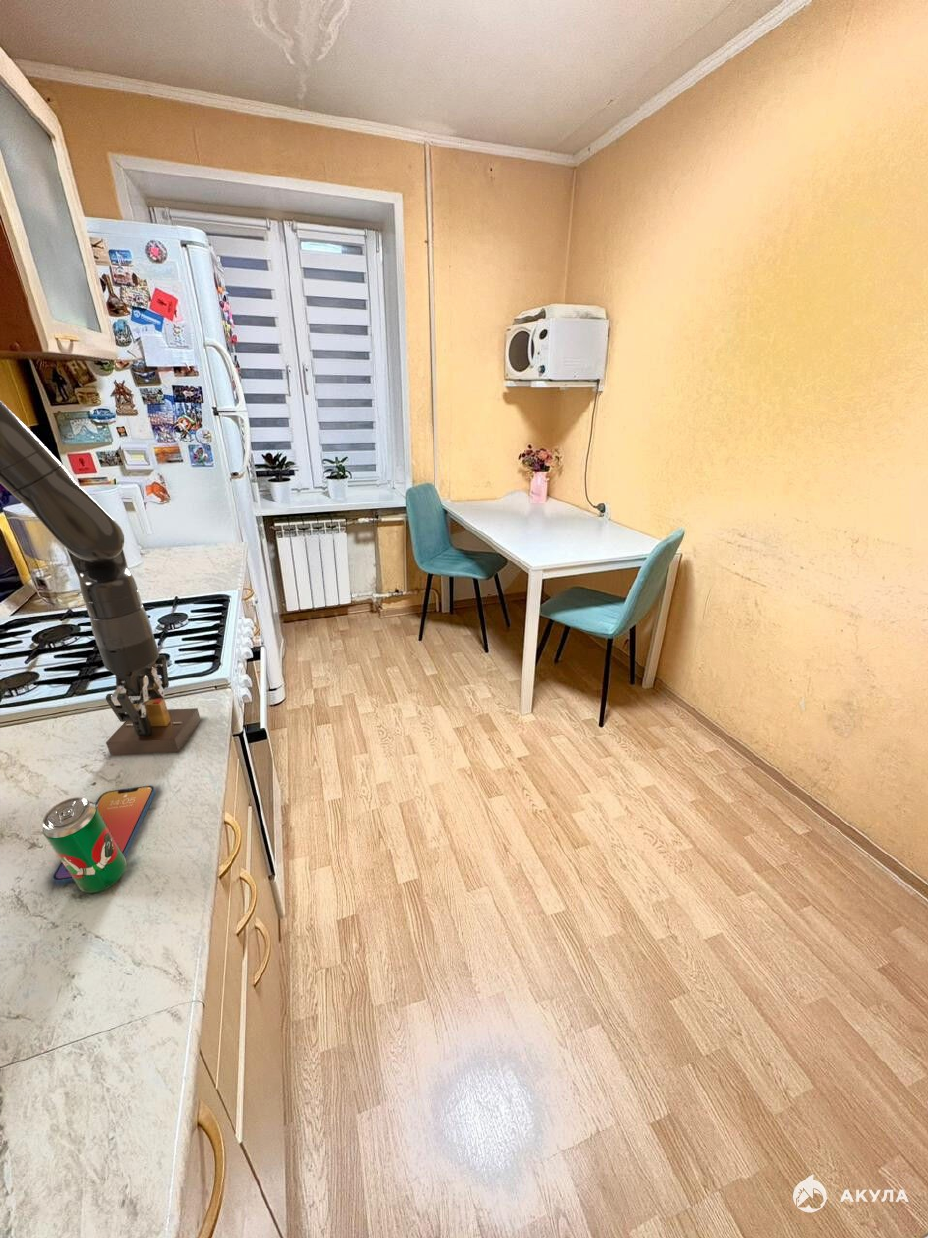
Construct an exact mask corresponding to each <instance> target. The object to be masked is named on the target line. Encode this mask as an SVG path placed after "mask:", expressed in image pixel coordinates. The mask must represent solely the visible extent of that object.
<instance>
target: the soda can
mask: <svg viewBox="0 0 928 1238" xmlns="http://www.w3.org/2000/svg"><path fill="white" fill-rule="evenodd" d="M95 804H96V803H95V802H93V801H90V800H89V799H87V798H85V797H81V796H76V797H71V798H67V799H65V800H62V801H61V802H59V803H57V804H56V805H54V806H53V807H51V809H49V810H48V812H47V813H46V814H45V815H44V816H43V819H42V835H43V836H44V837H45V839H46V840H47V842H48V843H49V845H50V846H51V848H52V850H53V851H54V852H55V854H56V855H57V857H58V858H59V860H60V862H61V861H62V863H63V864H64V866H65V867H66V869H67V870H68V872H69V873H70V875H71V876H72V878H73V879H74V881H75V882H74V883H75V884H76V885H77V887H78V889H79V890H81V892H83V893H87V894H94V893H99V892H102V891H104V890H106V889H109V888H111V887H112V886H113V885H115V884H116V883H117V882H118V881H119V880H120V878H121V877H122V876H123V875H124V873H125V871H126V868H127V863H128V862H127V859H126V857H124V855H123V853H122V852H121V850H120V848H119V846H118V844H117V843H116V841H115V839H114V837H113V835H112V834H111V832H110V830H109V828H108V826H107V824H106V823H105V821H104V819H103V817H102V815H101V814H100V812H99V810H98V808H97V806H96V805H95Z"/></svg>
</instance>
